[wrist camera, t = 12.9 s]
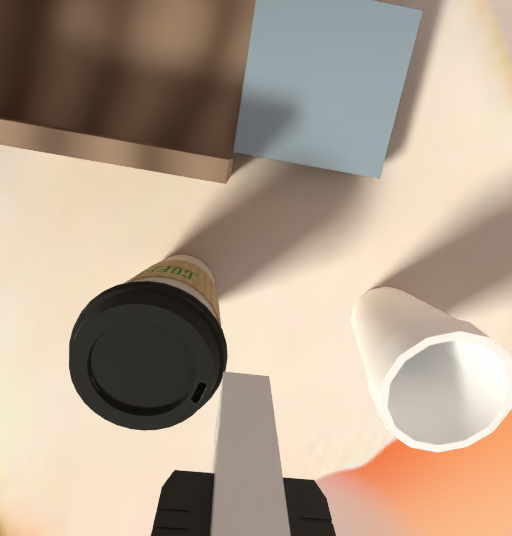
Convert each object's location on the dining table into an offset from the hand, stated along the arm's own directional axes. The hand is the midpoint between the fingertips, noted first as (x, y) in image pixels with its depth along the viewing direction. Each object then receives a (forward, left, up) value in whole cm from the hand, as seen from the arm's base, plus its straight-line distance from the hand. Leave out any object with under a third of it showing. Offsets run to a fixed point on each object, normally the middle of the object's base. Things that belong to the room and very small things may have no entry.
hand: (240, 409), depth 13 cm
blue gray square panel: (-2, +14, -22) cm, 26 cm away
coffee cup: (-5, -5, -24) cm, 25 cm away
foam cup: (+15, -5, -24) cm, 29 cm away
